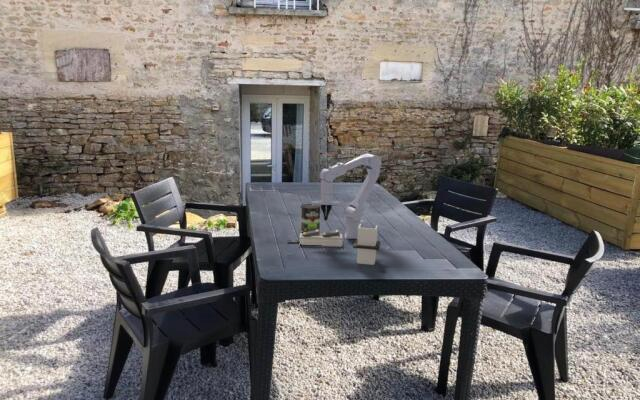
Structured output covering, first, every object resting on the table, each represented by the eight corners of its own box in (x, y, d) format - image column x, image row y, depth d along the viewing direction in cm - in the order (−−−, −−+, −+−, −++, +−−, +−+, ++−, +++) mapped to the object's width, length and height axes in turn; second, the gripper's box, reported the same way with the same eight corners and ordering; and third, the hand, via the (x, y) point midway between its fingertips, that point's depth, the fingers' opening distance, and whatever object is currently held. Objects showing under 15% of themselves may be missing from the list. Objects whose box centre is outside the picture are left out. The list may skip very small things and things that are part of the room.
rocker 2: (339, 232, 232) (338, 229, 232) (339, 234, 228) (338, 231, 228) (323, 235, 232) (322, 232, 232) (323, 238, 228) (322, 235, 228)
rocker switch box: (341, 240, 235) (341, 233, 235) (342, 246, 227) (342, 238, 226) (288, 239, 235) (288, 232, 234) (287, 245, 227) (287, 237, 226)
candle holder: (396, 255, 216) (398, 221, 212) (393, 274, 193) (395, 236, 189) (343, 250, 221) (344, 217, 218) (333, 268, 198) (334, 231, 194)
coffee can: (322, 233, 247) (322, 207, 244) (303, 234, 244) (303, 208, 241) (317, 228, 257) (317, 203, 254) (298, 229, 254) (299, 204, 251)
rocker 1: (319, 232, 232) (318, 228, 232) (319, 234, 228) (318, 231, 228) (303, 235, 232) (303, 232, 232) (303, 238, 228) (302, 234, 228)
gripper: (340, 192, 236) (339, 218, 239) (312, 191, 236) (311, 217, 238) (341, 194, 229) (340, 221, 232) (311, 194, 229) (311, 221, 232)
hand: (325, 219), depth 235 cm, fingers closed
